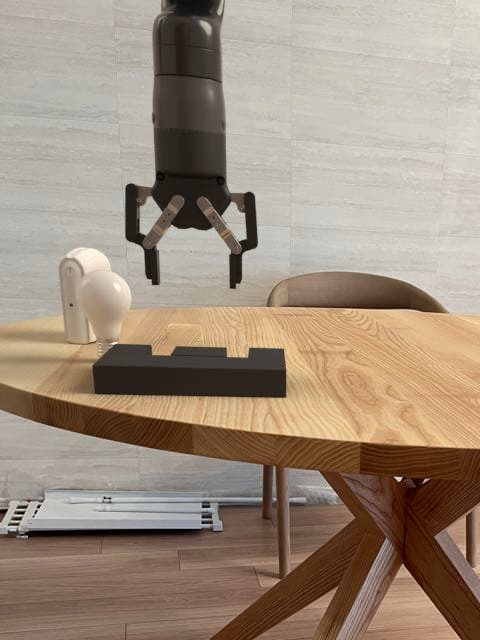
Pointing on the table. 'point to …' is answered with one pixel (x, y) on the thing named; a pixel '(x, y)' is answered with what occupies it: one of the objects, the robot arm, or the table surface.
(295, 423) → the table surface
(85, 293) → the lightbulb
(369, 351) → the table surface
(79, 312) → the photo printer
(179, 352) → the black block
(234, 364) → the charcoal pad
